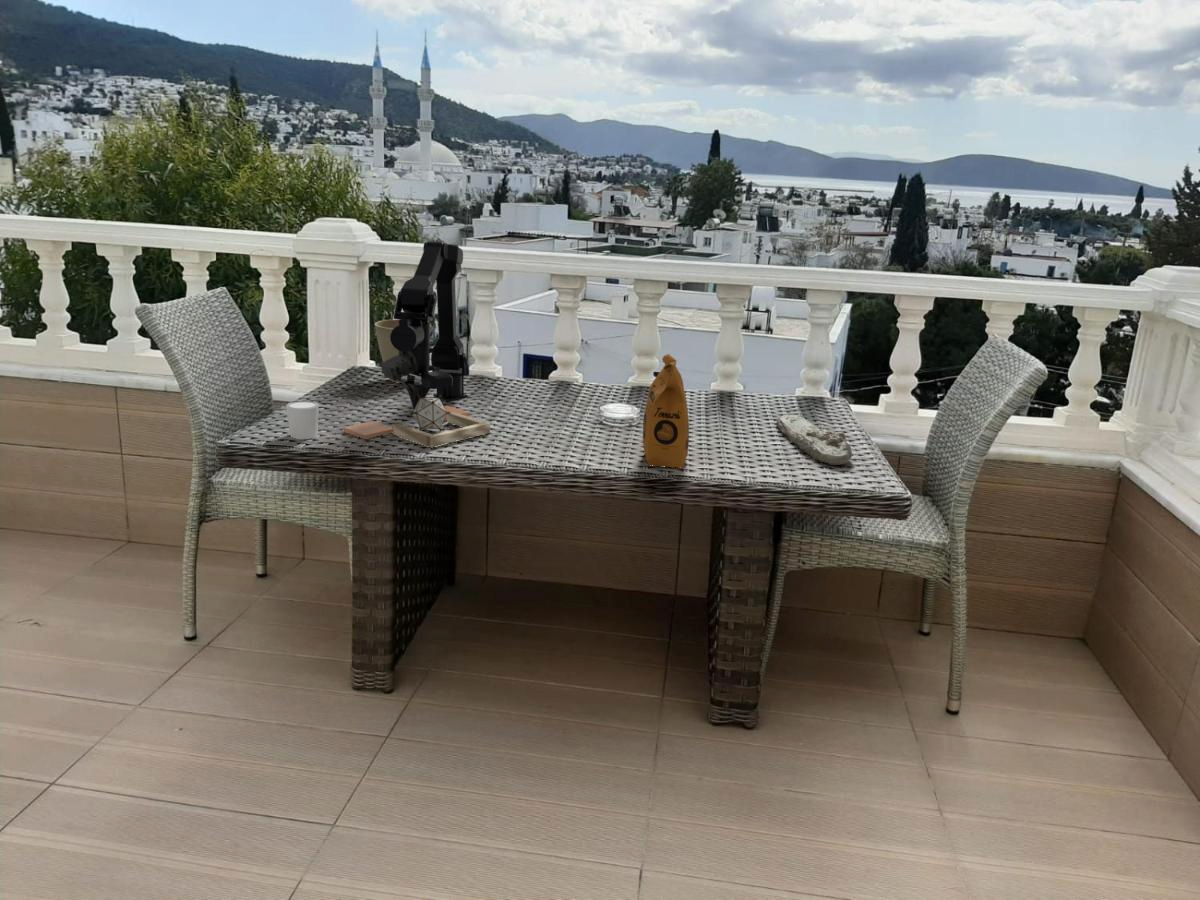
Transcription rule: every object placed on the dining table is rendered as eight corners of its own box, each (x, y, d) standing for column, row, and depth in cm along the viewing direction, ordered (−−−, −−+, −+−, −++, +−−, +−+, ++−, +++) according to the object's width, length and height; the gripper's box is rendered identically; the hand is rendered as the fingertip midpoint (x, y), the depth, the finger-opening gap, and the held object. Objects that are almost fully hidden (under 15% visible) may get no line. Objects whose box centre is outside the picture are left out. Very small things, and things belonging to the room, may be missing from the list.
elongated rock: (804, 429, 226) (766, 431, 225) (804, 409, 225) (766, 411, 223) (863, 466, 193) (819, 469, 191) (865, 442, 191) (820, 445, 190)
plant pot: (367, 384, 243) (365, 326, 239) (389, 373, 257) (387, 317, 253) (420, 389, 241) (419, 330, 236) (438, 377, 255) (438, 321, 250)
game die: (433, 448, 204) (440, 423, 196) (400, 430, 204) (406, 404, 196) (452, 421, 209) (459, 396, 201) (419, 403, 209) (426, 378, 201)
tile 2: (446, 409, 222) (446, 405, 222) (468, 416, 217) (468, 412, 217) (421, 414, 216) (421, 411, 216) (443, 421, 212) (443, 417, 211)
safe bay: (452, 422, 212) (452, 411, 211) (489, 433, 204) (490, 423, 203) (393, 435, 199) (393, 424, 199) (431, 448, 191) (431, 437, 191)
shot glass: (327, 433, 198) (325, 403, 196) (307, 441, 192) (305, 410, 190) (300, 429, 200) (299, 399, 198) (280, 437, 194) (278, 406, 192)
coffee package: (639, 467, 186) (645, 363, 179) (641, 450, 198) (648, 351, 191) (687, 471, 185) (695, 366, 178) (687, 453, 197) (694, 354, 190)
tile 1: (373, 425, 206) (373, 421, 206) (394, 432, 201) (394, 428, 201) (343, 431, 200) (343, 427, 200) (365, 439, 195) (364, 435, 195)
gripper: (361, 339, 201) (362, 406, 205) (414, 354, 189) (413, 425, 194) (402, 334, 209) (402, 399, 213) (454, 349, 197) (453, 417, 202)
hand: (416, 410), depth 206 cm, fingers closed
